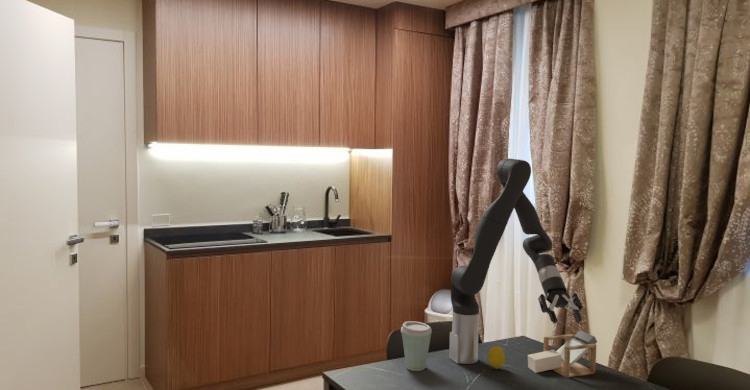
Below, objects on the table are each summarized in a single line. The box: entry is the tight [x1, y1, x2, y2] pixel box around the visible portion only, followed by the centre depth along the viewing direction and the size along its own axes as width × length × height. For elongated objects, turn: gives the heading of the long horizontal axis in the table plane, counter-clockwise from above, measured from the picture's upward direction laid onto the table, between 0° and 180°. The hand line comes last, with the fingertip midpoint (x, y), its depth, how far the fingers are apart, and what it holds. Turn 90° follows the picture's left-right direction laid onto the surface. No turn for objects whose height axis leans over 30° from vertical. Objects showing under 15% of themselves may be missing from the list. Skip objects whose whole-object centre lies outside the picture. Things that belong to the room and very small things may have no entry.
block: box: [527, 349, 561, 374], centre depth 183 cm, size 4×4×10 cm
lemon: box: [487, 345, 506, 370], centre depth 182 cm, size 6×6×8 cm
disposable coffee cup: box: [400, 320, 433, 372], centre depth 181 cm, size 11×11×15 cm
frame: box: [542, 333, 597, 378], centre depth 183 cm, size 12×12×10 cm
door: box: [556, 330, 598, 366], centre depth 184 cm, size 13×9×2 cm
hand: (567, 322), depth 181 cm, fingers open, 8 cm apart
